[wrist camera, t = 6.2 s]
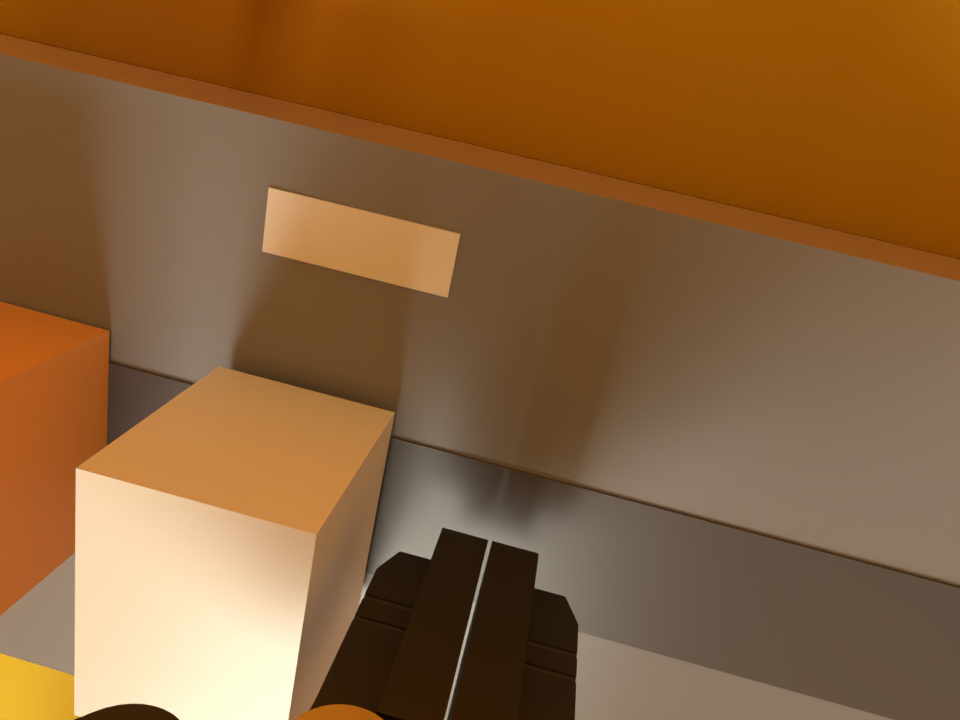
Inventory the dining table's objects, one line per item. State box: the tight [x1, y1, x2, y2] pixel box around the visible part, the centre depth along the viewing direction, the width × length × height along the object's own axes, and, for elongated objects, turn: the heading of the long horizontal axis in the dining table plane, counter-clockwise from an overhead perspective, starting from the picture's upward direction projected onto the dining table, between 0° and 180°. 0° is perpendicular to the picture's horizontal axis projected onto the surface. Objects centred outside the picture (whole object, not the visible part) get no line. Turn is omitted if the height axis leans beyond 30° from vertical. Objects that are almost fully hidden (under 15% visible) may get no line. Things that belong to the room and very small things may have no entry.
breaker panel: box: [0, 34, 960, 720], centre depth 14 cm, size 26×12×4 cm, turn 78°
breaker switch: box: [74, 366, 395, 720], centre depth 11 cm, size 3×4×4 cm
